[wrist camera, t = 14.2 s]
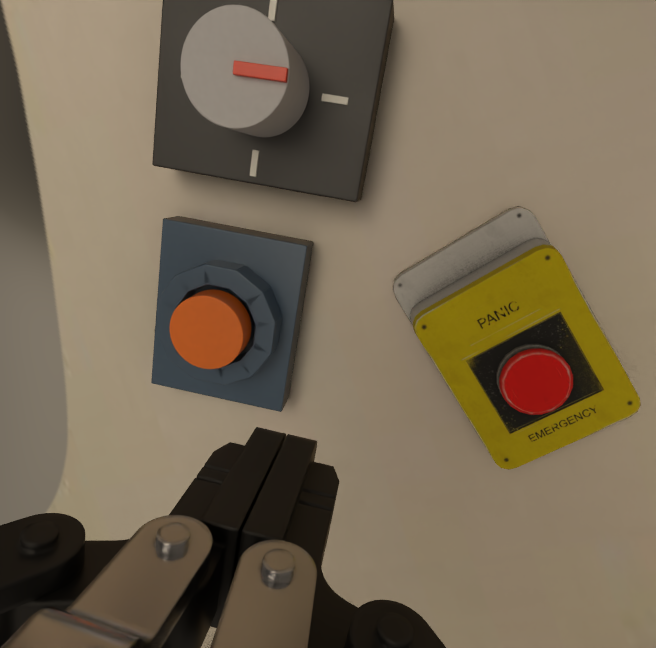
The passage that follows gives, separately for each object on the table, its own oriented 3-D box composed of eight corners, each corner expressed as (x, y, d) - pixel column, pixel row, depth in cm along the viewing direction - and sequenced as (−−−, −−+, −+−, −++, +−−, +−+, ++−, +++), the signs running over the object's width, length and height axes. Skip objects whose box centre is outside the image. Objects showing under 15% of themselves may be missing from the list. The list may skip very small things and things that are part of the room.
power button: (184, 282, 30) (171, 288, 29) (256, 297, 30) (247, 303, 28) (178, 351, 32) (166, 361, 30) (247, 366, 31) (238, 376, 30)
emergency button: (515, 507, 30) (384, 296, 28) (501, 467, 35) (386, 281, 32) (673, 440, 28) (543, 203, 26) (638, 406, 32) (524, 199, 30)
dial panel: (187, -14, 29) (163, -36, 26) (394, 16, 28) (393, -3, 25) (174, 166, 32) (150, 165, 29) (361, 200, 31) (356, 202, 28)
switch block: (177, 216, 33) (148, 220, 29) (313, 241, 32) (301, 249, 28) (165, 371, 36) (137, 394, 32) (288, 398, 35) (274, 424, 32)
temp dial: (214, 130, 28) (173, 119, 23) (222, 29, 27) (180, -6, 22) (302, 143, 28) (280, 136, 23) (315, 42, 26) (295, 9, 21)
